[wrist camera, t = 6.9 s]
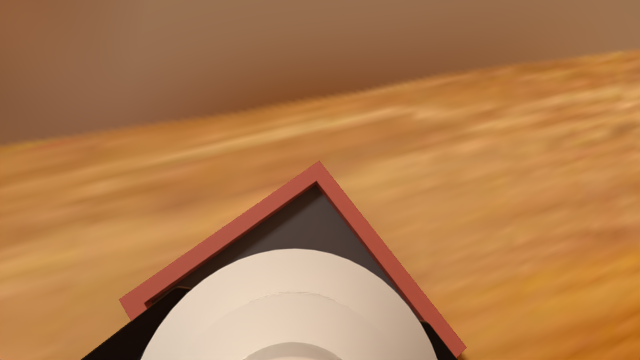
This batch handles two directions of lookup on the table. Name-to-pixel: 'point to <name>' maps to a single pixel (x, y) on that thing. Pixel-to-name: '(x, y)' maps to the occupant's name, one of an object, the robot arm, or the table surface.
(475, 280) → the table surface
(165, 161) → the table surface
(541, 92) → the table surface
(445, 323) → the lacquer tray
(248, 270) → the white sake bottle
